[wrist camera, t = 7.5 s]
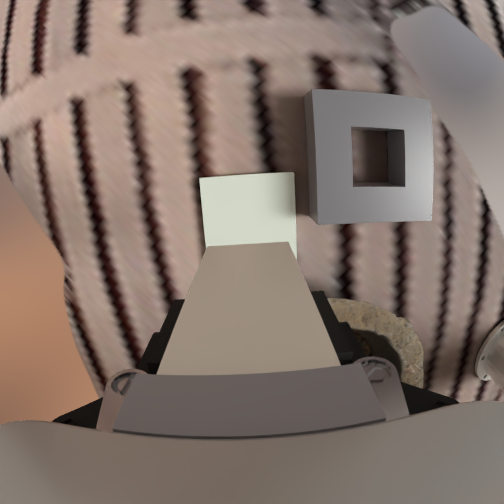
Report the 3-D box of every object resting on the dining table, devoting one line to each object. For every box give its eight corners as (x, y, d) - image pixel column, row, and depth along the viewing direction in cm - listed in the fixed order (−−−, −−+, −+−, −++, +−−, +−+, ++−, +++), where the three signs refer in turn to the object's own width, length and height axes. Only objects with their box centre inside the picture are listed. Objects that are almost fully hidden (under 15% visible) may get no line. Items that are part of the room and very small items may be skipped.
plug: (294, 235, 15) (386, 417, 4) (295, 317, 17) (345, 517, 6) (200, 241, 15) (112, 428, 4) (210, 322, 17) (174, 524, 6)
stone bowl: (290, 449, 42) (293, 494, 33) (180, 347, 38) (159, 392, 29) (429, 369, 37) (456, 408, 28) (348, 231, 33) (376, 253, 24)
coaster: (292, 171, 30) (294, 172, 29) (295, 259, 32) (296, 261, 32) (200, 177, 30) (199, 178, 29) (209, 264, 32) (208, 267, 32)
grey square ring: (411, 104, 27) (430, 99, 23) (413, 212, 31) (431, 220, 27) (303, 97, 27) (311, 89, 24) (309, 215, 31) (317, 224, 27)
